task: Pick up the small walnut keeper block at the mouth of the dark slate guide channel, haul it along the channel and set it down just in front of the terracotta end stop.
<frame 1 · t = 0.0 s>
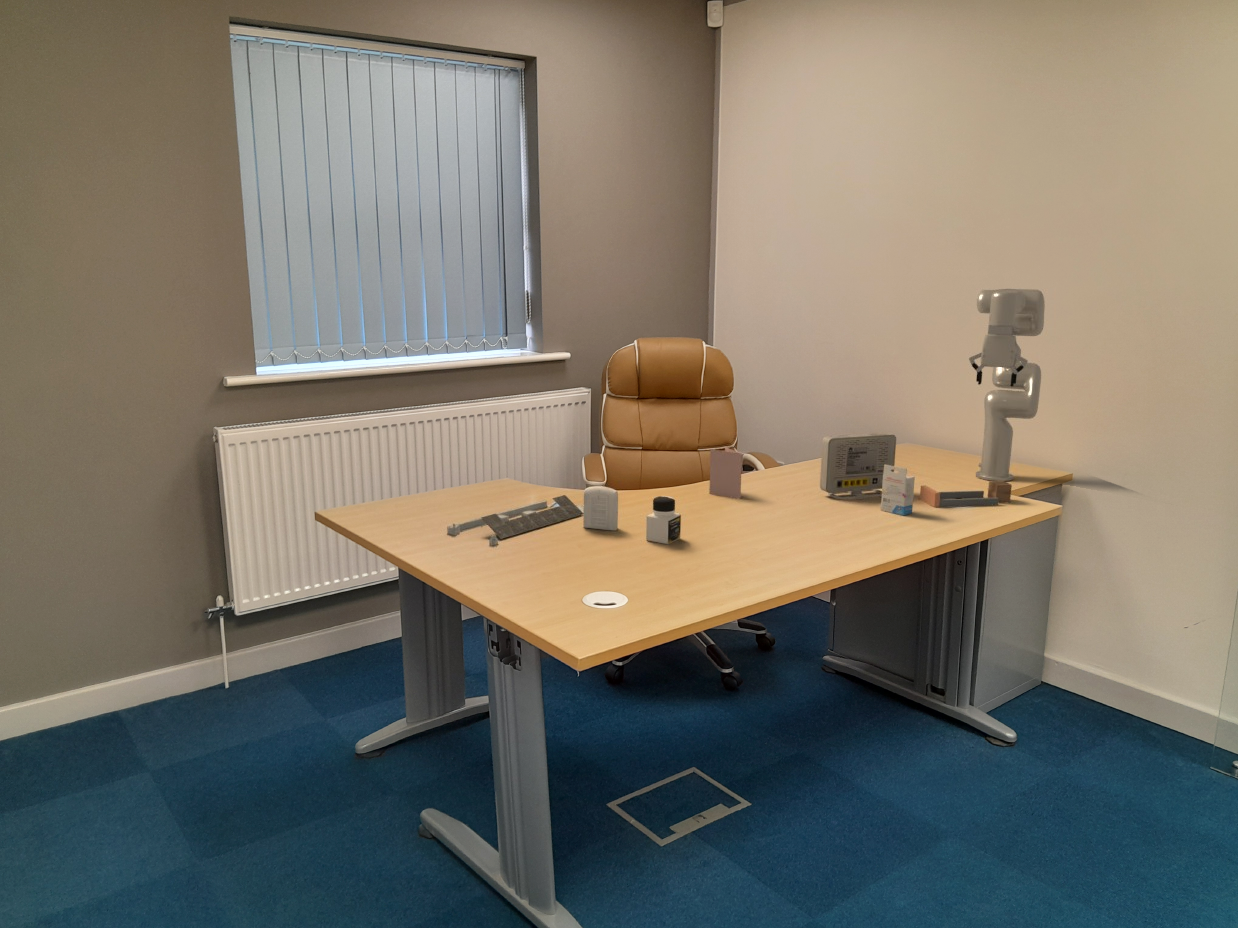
hand: (995, 385, 295), 37 cm above the table, tool pointing down, fingers open, 9 cm apart
guide channel: (960, 501, 298), on the table
keeper: (998, 501, 300), on the table
network device: (856, 495, 306), on the table
gravestone: (600, 528, 266), on the table
paper cutter: (526, 524, 271), on the table
medicine bottle: (663, 540, 256), on the table
ink box: (896, 512, 286), on the table
greeting card: (724, 496, 304), on the table
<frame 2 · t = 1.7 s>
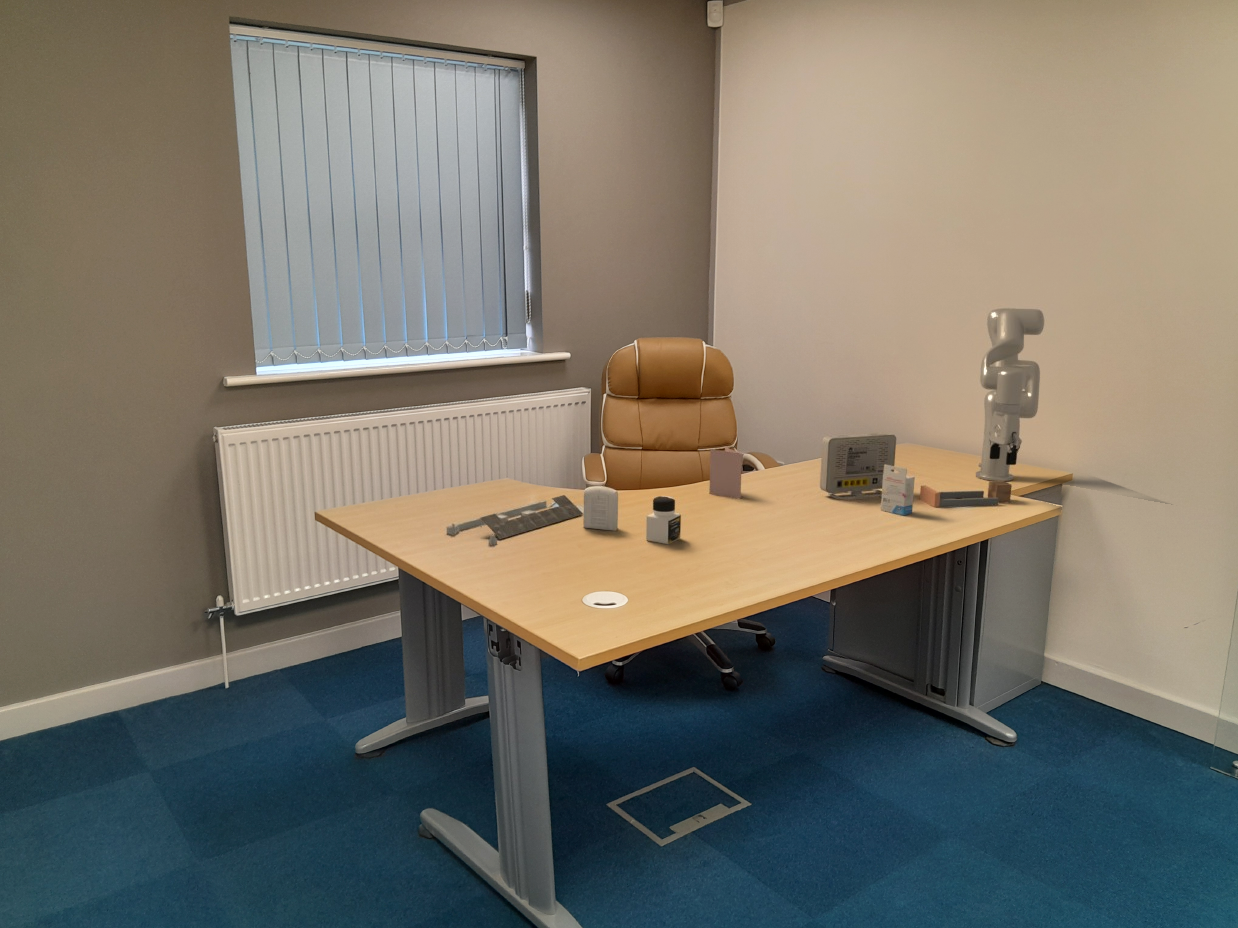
hand: (1002, 461, 296), 13 cm above the table, tool pointing down, fingers open, 9 cm apart
nothing on the table moved.
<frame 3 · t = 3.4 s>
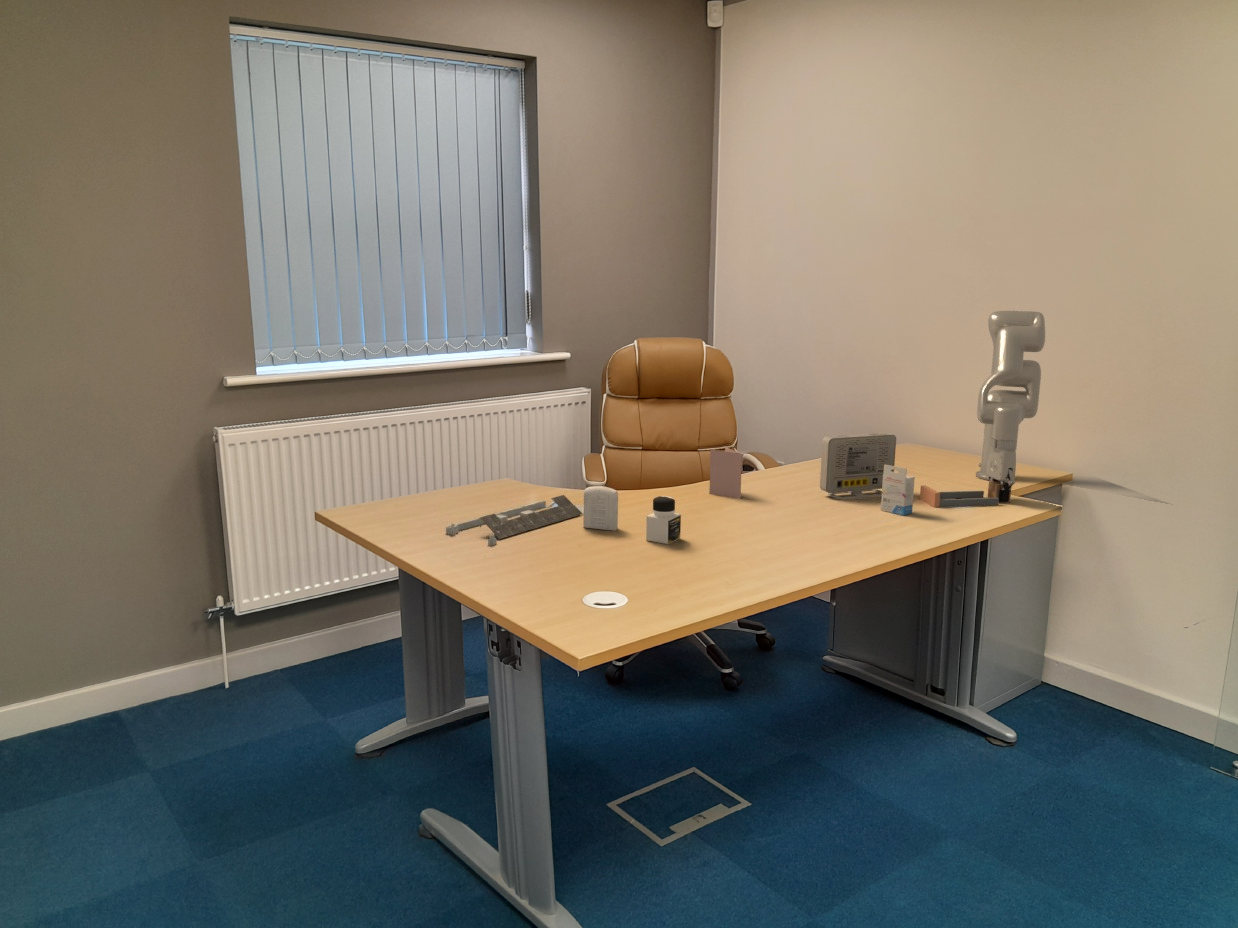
hand: (998, 498, 299), 1 cm above the table, tool pointing down, fingers closed on keeper, 5 cm apart
keeper: (998, 500, 300), on the table, touching gripper
everything else where it was.
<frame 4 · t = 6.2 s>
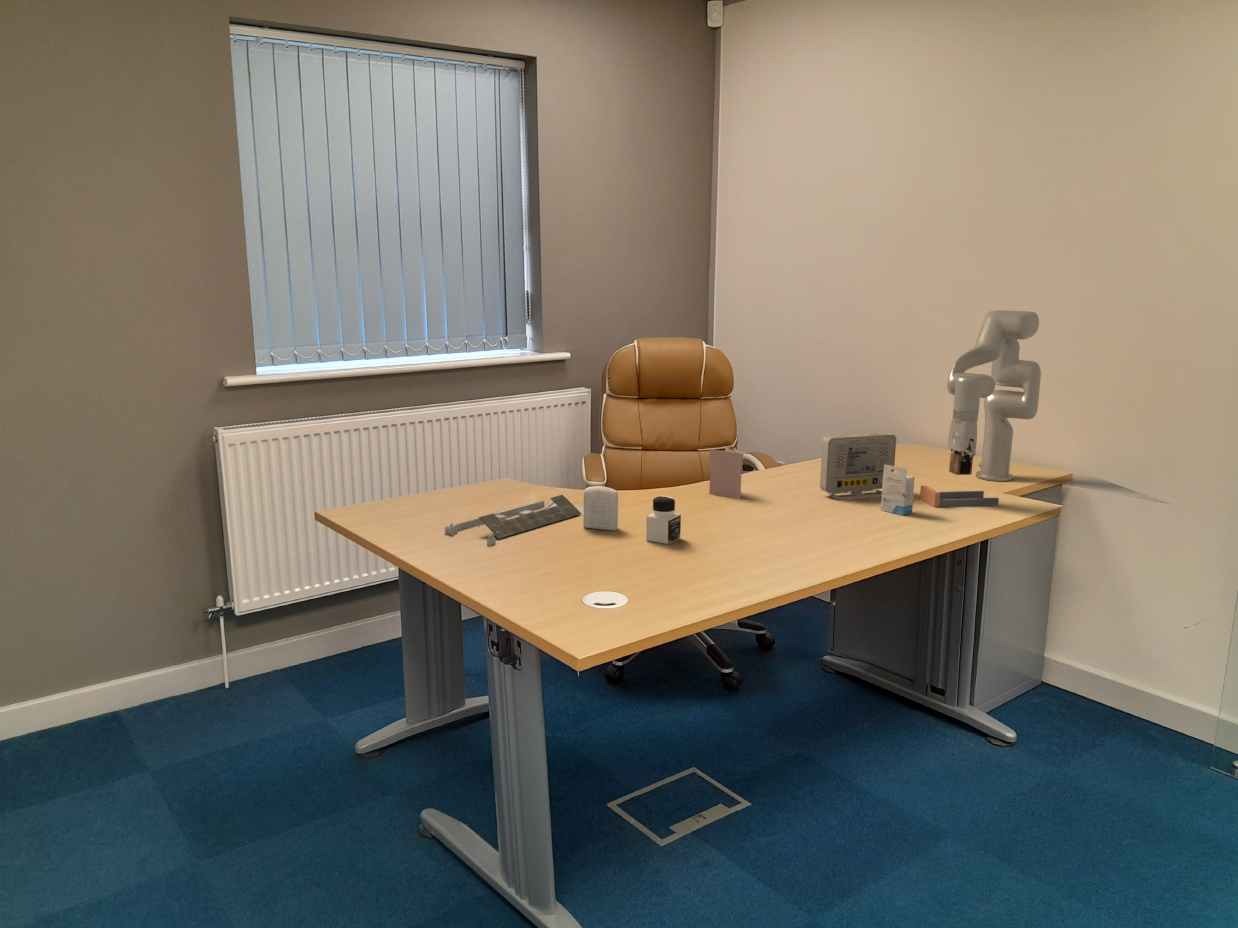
hand: (960, 471, 295), 10 cm above the table, tool pointing down, fingers closed on keeper, 5 cm apart
keeper: (960, 473, 295), point 10 cm above the table, touching gripper
everything else where it was.
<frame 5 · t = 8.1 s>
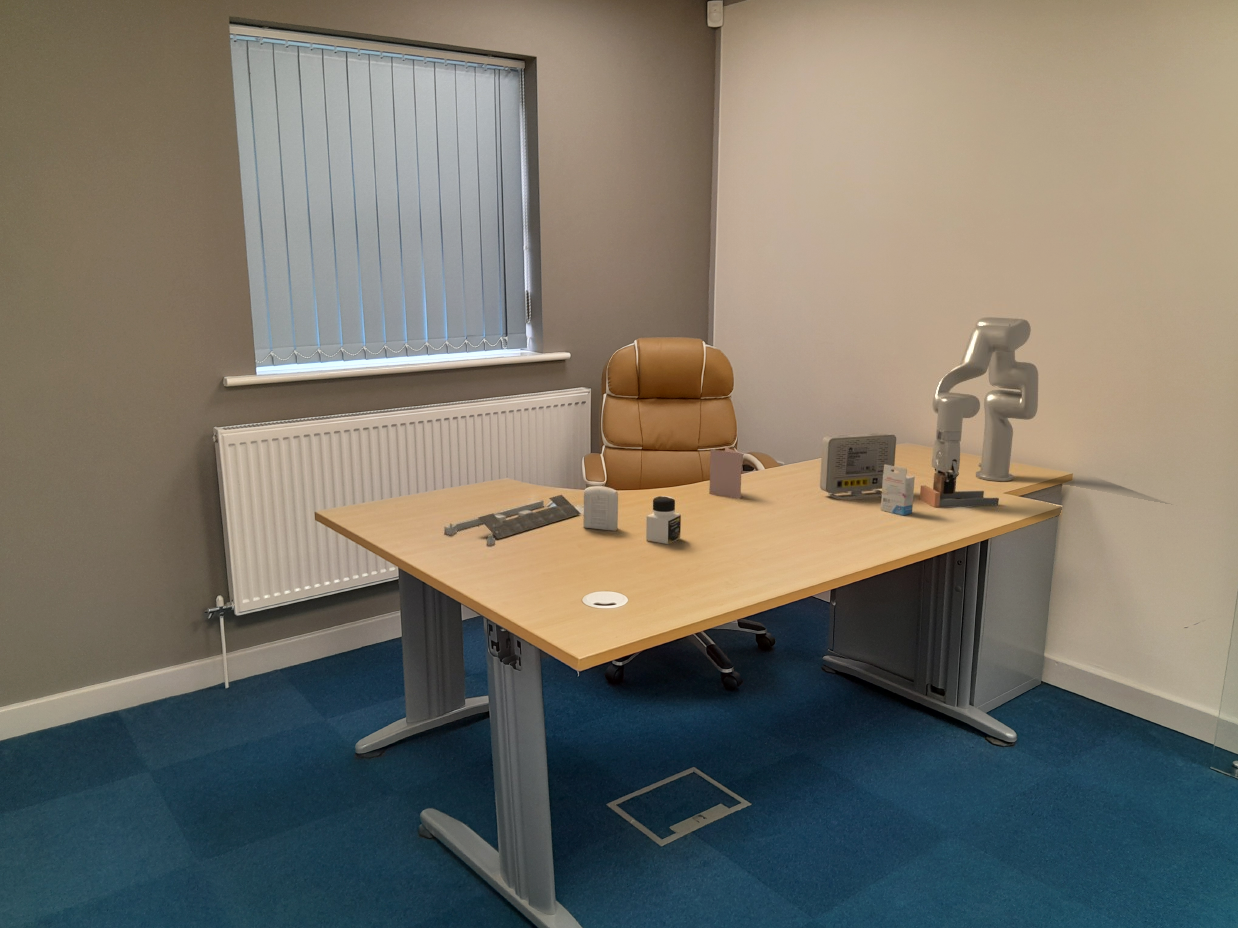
hand: (944, 490, 296), 4 cm above the table, tool pointing down, fingers closed on keeper, 5 cm apart
keeper: (943, 492, 296), point 3 cm above the table, touching gripper
everything else where it was.
when the fingers open (2 cm above the table, at t = 9.3 s): keeper drops 1 cm, resting in guide channel.
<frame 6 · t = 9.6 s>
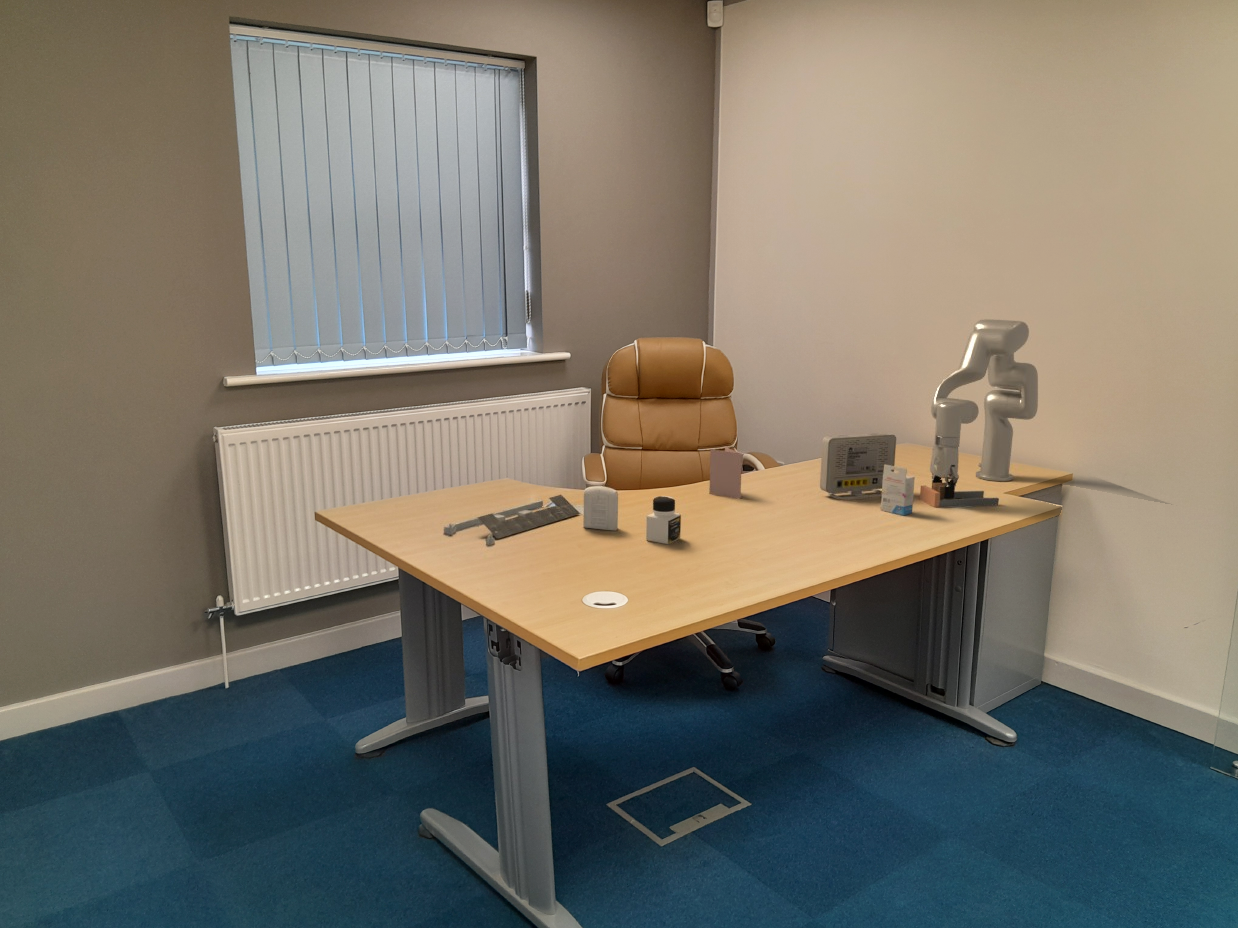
hand: (942, 494, 296), 3 cm above the table, tool pointing down, fingers open, 7 cm apart
keeper: (941, 502, 297), resting in guide channel
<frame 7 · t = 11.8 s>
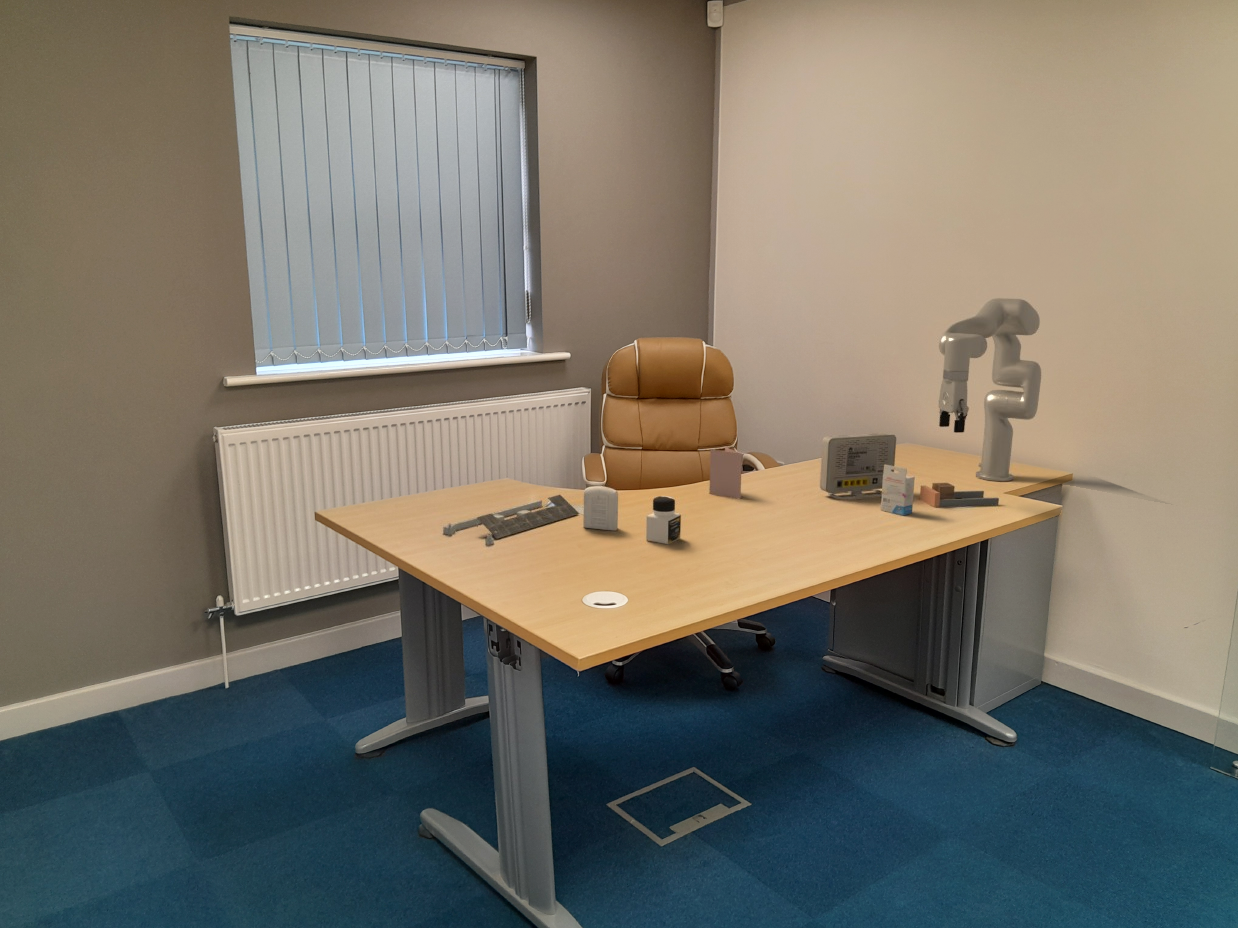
hand: (951, 429, 293), 24 cm above the table, tool pointing down, fingers open, 9 cm apart
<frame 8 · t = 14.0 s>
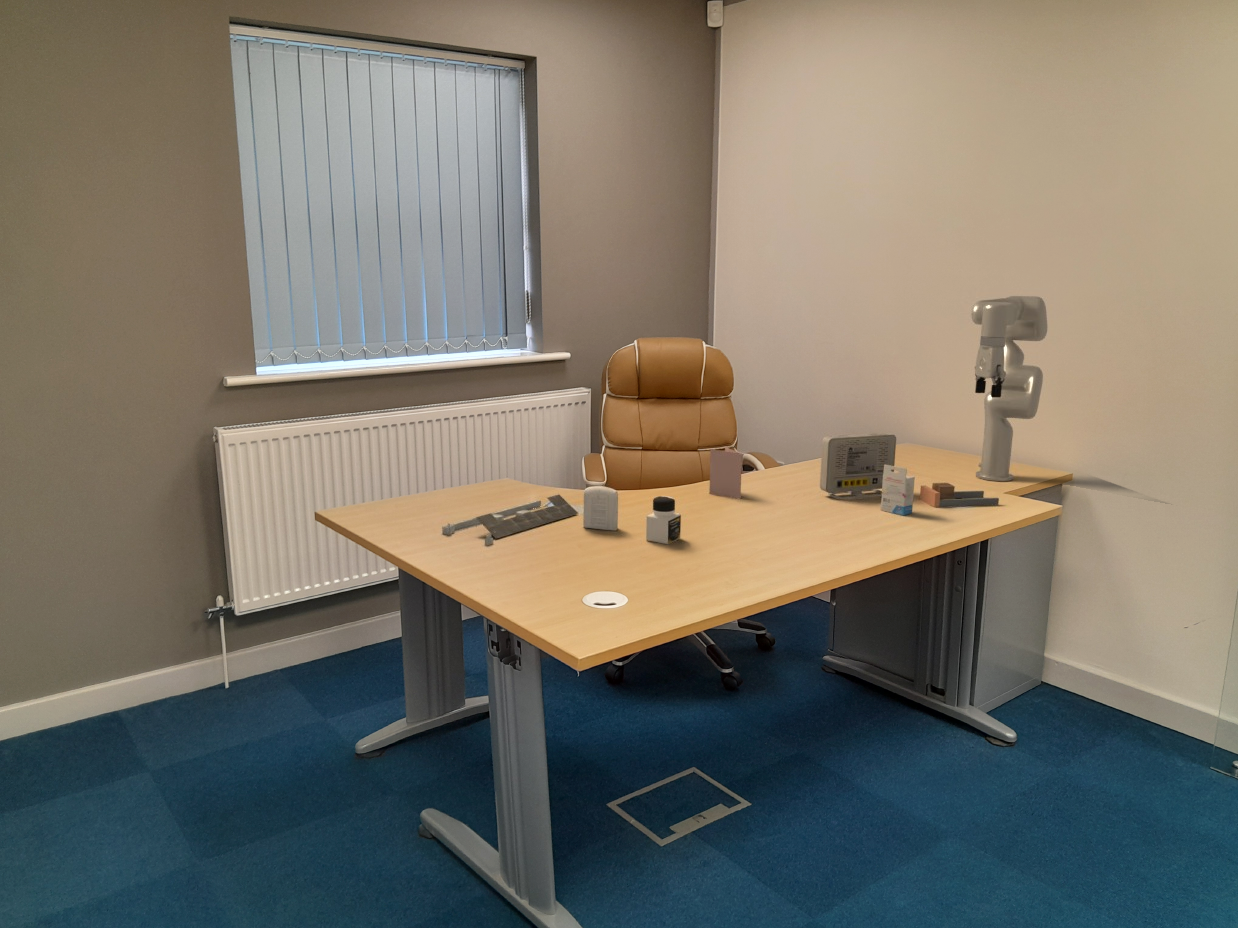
hand: (987, 395, 301), 33 cm above the table, tool pointing down, fingers open, 9 cm apart
at the end: keeper inside the target area (0.1 cm from its centre), resting in guide channel; keeper tilted 0°; the gripper is holding nothing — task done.
